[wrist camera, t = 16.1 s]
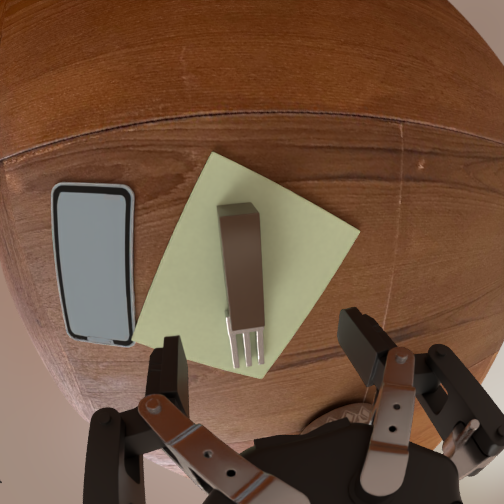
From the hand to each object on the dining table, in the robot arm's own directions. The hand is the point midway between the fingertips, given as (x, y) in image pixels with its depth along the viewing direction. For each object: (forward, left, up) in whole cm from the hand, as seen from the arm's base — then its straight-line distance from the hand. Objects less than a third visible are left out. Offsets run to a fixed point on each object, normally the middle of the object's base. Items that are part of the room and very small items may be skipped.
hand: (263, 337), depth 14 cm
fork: (-3, -2, -10) cm, 11 cm away
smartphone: (-7, +10, -11) cm, 17 cm away
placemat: (-3, -2, -11) cm, 11 cm away
